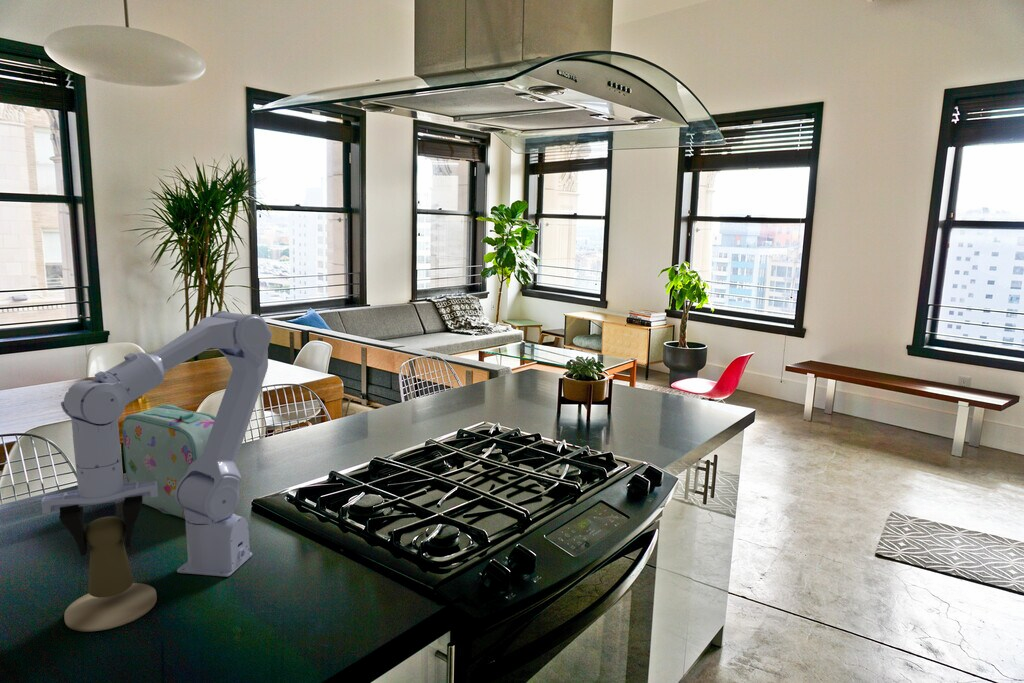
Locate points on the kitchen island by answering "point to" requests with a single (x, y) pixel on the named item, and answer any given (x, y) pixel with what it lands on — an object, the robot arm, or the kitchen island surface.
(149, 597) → the cork trivet
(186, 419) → the lunch box
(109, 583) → the pepper shaker
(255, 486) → the kitchen island surface
